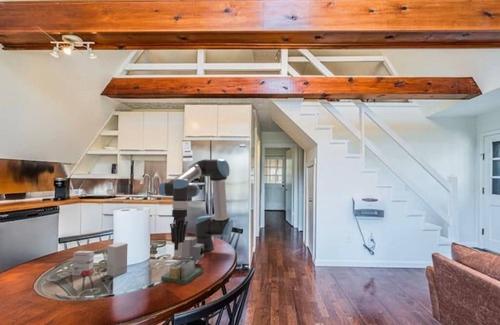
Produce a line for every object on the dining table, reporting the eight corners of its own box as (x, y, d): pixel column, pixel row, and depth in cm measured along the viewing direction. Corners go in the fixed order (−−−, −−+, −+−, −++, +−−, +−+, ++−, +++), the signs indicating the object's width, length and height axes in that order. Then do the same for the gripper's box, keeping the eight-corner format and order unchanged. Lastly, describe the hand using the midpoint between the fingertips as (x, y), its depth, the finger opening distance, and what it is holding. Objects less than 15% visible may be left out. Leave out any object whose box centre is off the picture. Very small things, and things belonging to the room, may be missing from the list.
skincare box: (119, 270, 158) (120, 241, 159) (127, 272, 155) (128, 243, 156) (105, 275, 151) (106, 245, 151) (114, 277, 148) (115, 246, 148)
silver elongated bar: (187, 259, 158) (188, 255, 159) (194, 260, 157) (194, 256, 158) (171, 260, 144) (171, 256, 144) (178, 260, 142) (178, 256, 143)
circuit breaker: (201, 266, 166) (202, 240, 166) (178, 264, 169) (179, 239, 169) (206, 262, 173) (206, 237, 174) (184, 261, 176) (184, 236, 177)
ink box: (93, 272, 154) (94, 250, 155) (88, 275, 149) (89, 252, 150) (77, 272, 154) (78, 250, 155) (72, 275, 149) (72, 252, 150)
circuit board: (180, 269, 161) (181, 256, 161) (203, 272, 156) (203, 259, 157) (161, 280, 144) (161, 266, 144) (185, 284, 139) (185, 269, 140)
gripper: (181, 207, 155) (179, 252, 153) (165, 209, 142) (163, 258, 140) (193, 208, 153) (191, 253, 151) (178, 210, 140) (176, 259, 138)
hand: (177, 255), depth 145 cm, fingers closed
